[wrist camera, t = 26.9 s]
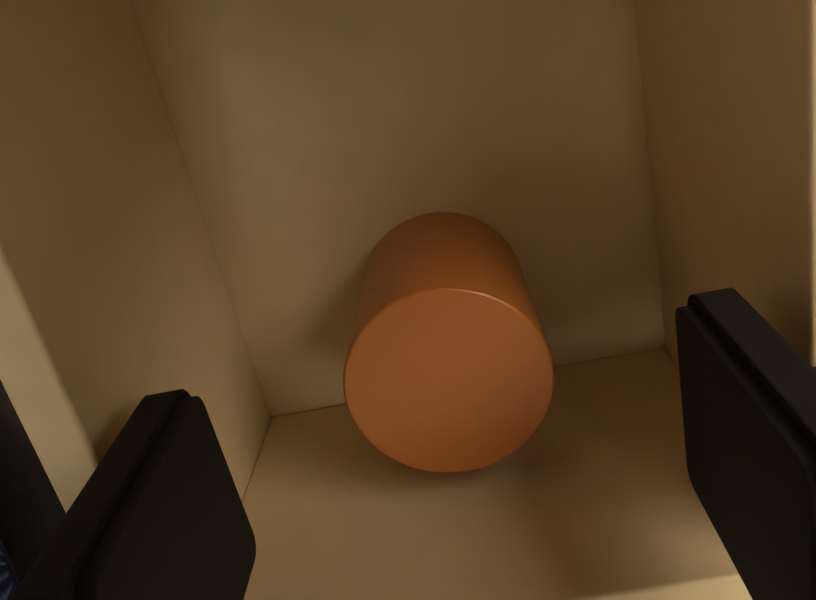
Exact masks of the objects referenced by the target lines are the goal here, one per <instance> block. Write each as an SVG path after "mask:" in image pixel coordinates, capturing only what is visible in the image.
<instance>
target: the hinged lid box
mask: <svg viewBox="0 0 816 600" xmlns="http://www.w3.org/2000/svg"><path fill="white" fill-rule="evenodd" d="M436 212H451V213H459V214H463V215H467V216H471V217H473V218H476V219H478V220H480V221H482V222H484V223H486V224H487V225H489V226H491V227H492V228H493V229H495V230H496V231H497V232H498V233H499V234H500V235H501V236H502V237H503V238H504V239H505V240H506V241H507V242H508V244H509V245H510V246H511V248H512V249H513V251H514V253H515V255H516V257H517V259H518V262H519V264H520V267H521V270H522V273H523V276H524V279H525V282H526V285H527V288H528V290H529V293H530V296H531V299H532V302H533V305H534V308H535V311H536V314H537V317H538V319H539V322H540V325H541V328H542V331H543V334H544V337H545V340H546V343H547V346H548V348H549V351H550V354H551V358H552V363H553V367H554V388H553V395H552V399H551V403H550V406H549V408H548V411H547V413H546V415H545V417H544V419H543V421H542V422H541V424H540V426H539V427H538V429H537V430H536V431H535V433H534V434H533V435H532V436H531V437H530V438H529V439H528V440H527V441H526V442H525V443H524V444H523V445H522V446H521V447H520V448H518V449H517V450H516V451H515V452H513V453H512V454H510V455H509V456H507V457H505V458H504V459H502V460H500V461H497V462H495V463H493V464H491V465H488V466H485V467H482V468H479V469H474V470H469V471H464V472H453V473H446V472H432V471H425V470H421V469H417V468H413V467H410V466H407V465H405V464H402V463H400V462H398V461H396V460H394V459H392V458H390V457H388V456H387V455H385V454H384V453H382V452H381V451H379V450H378V449H377V448H376V447H375V446H373V445H372V444H371V443H370V442H369V441H368V440H367V439H366V438H365V436H364V435H363V434H362V433H361V431H360V430H359V429H358V427H357V426H356V424H355V423H354V421H353V419H352V417H351V415H350V413H349V410H348V407H347V404H346V401H345V396H344V391H343V371H344V364H345V359H346V354H347V349H348V345H349V340H350V335H351V330H352V326H353V321H354V316H355V312H356V307H357V302H358V297H359V293H360V288H361V283H362V278H363V274H364V270H365V266H366V263H367V261H368V259H369V256H370V254H371V253H372V251H373V249H374V248H375V246H376V245H377V244H378V242H379V241H380V240H381V239H382V238H383V237H384V236H385V235H386V234H387V233H388V232H389V231H390V230H392V229H393V228H394V227H396V226H397V225H399V224H401V223H403V222H404V221H406V220H408V219H411V218H414V217H416V216H420V215H424V214H428V213H436ZM730 287H732V288H734V289H735V290H736V291H737V292H738V293H739V294H740V295H741V296H742V297H743V298H744V299H745V300H746V301H747V302H748V303H749V304H750V305H751V306H752V307H753V308H754V309H755V310H756V311H757V312H758V313H759V314H760V315H761V316H762V317H763V318H764V319H765V320H766V321H767V322H768V323H769V324H770V325H771V326H772V327H773V328H774V329H775V330H776V331H778V332H779V333H780V334H781V335H782V336H783V337H784V338H785V339H786V340H787V341H788V342H789V343H790V344H791V345H792V346H793V347H794V348H795V349H796V350H797V351H798V352H799V353H800V354H801V355H802V356H803V357H804V358H805V359H806V360H807V361H808V362H809V363H810V364H811V365H812V366H813V367H814V366H816V0H0V380H1V382H2V384H3V386H4V388H5V390H6V392H7V394H8V396H9V398H10V400H11V402H12V404H13V406H14V408H15V410H16V412H17V415H18V417H19V419H20V421H21V423H22V425H23V427H24V429H25V431H26V433H27V435H28V437H29V439H30V441H31V443H32V445H33V447H34V449H35V451H36V453H37V455H38V457H39V459H40V461H41V463H42V465H43V467H44V469H45V472H46V474H47V476H48V478H49V480H50V482H51V484H52V486H53V488H54V490H55V492H56V494H57V496H58V498H59V500H60V502H61V504H62V506H63V508H64V510H65V512H66V513H67V511H68V510H69V508H70V507H71V505H72V504H73V502H74V501H75V499H76V498H77V496H78V495H79V493H80V492H81V490H82V489H83V487H84V486H85V484H86V483H87V481H88V480H89V478H90V477H91V475H92V474H93V472H94V471H95V469H96V468H97V466H98V465H99V463H100V462H101V460H102V459H103V457H104V456H105V454H106V453H107V451H108V450H109V448H110V447H111V445H112V443H113V442H114V440H115V439H116V437H117V436H118V434H119V433H120V431H121V430H122V428H123V427H124V425H125V424H126V422H127V421H128V419H129V418H130V416H131V415H132V413H133V412H134V410H135V409H136V407H137V406H138V404H139V403H140V401H141V400H142V399H143V398H144V397H145V396H146V395H152V394H157V393H162V392H168V391H173V390H179V389H184V390H186V391H187V392H188V393H189V394H190V395H191V397H193V396H199V397H200V398H201V399H202V400H203V402H204V404H205V407H206V409H207V412H208V415H209V417H210V420H211V423H212V425H213V428H214V430H215V433H216V436H217V438H218V441H219V444H220V446H221V449H222V451H223V454H224V457H225V459H226V462H227V465H228V467H229V470H230V472H231V475H232V478H233V480H234V483H235V486H236V488H237V491H238V493H239V496H240V499H241V501H242V504H243V507H244V509H245V512H246V514H247V517H248V520H249V522H250V525H251V528H252V530H253V533H254V536H255V542H256V557H255V562H254V565H253V569H252V572H251V576H250V579H249V583H248V586H247V590H246V593H245V596H244V600H753V599H752V598H751V596H750V594H749V592H748V590H747V588H746V586H745V584H744V583H743V581H742V579H741V577H740V575H739V573H738V571H737V569H736V568H735V566H734V564H733V562H732V560H731V558H730V556H729V554H728V553H727V551H726V549H725V547H724V545H723V543H722V541H721V539H720V538H719V536H718V534H717V532H716V530H715V528H714V526H713V524H712V523H711V521H710V519H709V517H708V515H707V513H706V511H705V509H704V508H703V506H702V504H701V502H700V500H699V498H698V496H697V494H696V493H695V491H694V488H693V486H692V484H691V481H690V477H689V474H688V469H687V462H686V450H685V437H684V424H683V411H682V399H681V386H680V373H679V361H678V348H677V335H676V323H675V312H676V309H677V308H678V307H683V306H687V301H688V297H689V296H690V295H693V294H698V293H703V292H709V291H714V290H720V289H725V288H730Z"/></svg>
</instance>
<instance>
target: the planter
mask: <svg viewBox="0 0 816 600" xmlns="http://www.w3.org/2000/svg"><path fill="white" fill-rule="evenodd" d="M19 584H20V583H19V579H18V576H17V574H16V571H15V569H14V566H13V564H12V561H11V559H10V557H9V555H8V553H7V551H6V549H5V547H4V545H3V543H2V541H1V539H0V600H9V599H10V597H11V596H12V594H13V593H14V591H15V590H16V588H17V587H18V585H19Z"/></svg>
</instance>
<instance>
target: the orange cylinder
mask: <svg viewBox="0 0 816 600" xmlns="http://www.w3.org/2000/svg"><path fill="white" fill-rule="evenodd" d="M553 388H554V367H553V363H552V358H551V354H550V351H549V348H548V346H547V343H546V340H545V337H544V334H543V331H542V328H541V325H540V322H539V319H538V317H537V314H536V311H535V308H534V305H533V302H532V299H531V296H530V293H529V290H528V288H527V285H526V282H525V279H524V276H523V273H522V270H521V267H520V264H519V262H518V259H517V257H516V255H515V253H514V251H513V249H512V248H511V246H510V245H509V244H508V242H507V241H506V240H505V239H504V238H503V237H502V236H501V235H500V234H499V233H498V232H497V231H496V230H495V229H493V228H492V227H491V226H489V225H487V224H486V223H484V222H482V221H480V220H478V219H476V218H473V217H471V216H467V215H463V214H459V213H451V212H436V213H428V214H424V215H420V216H416V217H414V218H411V219H408V220H406V221H404V222H403V223H401V224H399V225H397V226H396V227H394V228H393V229H392V230H390V231H389V232H388V233H387V234H386V235H385V236H384V237H383V238H382V239H381V240H380V241H379V242H378V244H377V245H376V246H375V248H374V249H373V251H372V253H371V254H370V256H369V259H368V261H367V263H366V266H365V270H364V274H363V278H362V283H361V288H360V293H359V297H358V302H357V307H356V312H355V316H354V321H353V326H352V330H351V335H350V340H349V345H348V349H347V354H346V359H345V364H344V371H343V391H344V396H345V401H346V404H347V407H348V410H349V413H350V415H351V417H352V419H353V421H354V423H355V424H356V426H357V427H358V429H359V430H360V431H361V433H362V434H363V435H364V436H365V438H366V439H367V440H368V441H369V442H370V443H371V444H372V445H373V446H375V447H376V448H377V449H378V450H379V451H381V452H382V453H384V454H385V455H387V456H388V457H390V458H392V459H394V460H396V461H398V462H400V463H402V464H405V465H407V466H410V467H413V468H417V469H421V470H425V471H432V472H446V473H453V472H464V471H469V470H474V469H479V468H482V467H485V466H488V465H491V464H493V463H495V462H497V461H500V460H502V459H504V458H505V457H507V456H509V455H510V454H512V453H513V452H515V451H516V450H517V449H518V448H520V447H521V446H522V445H523V444H524V443H525V442H526V441H527V440H528V439H529V438H530V437H531V436H532V435H533V434H534V433H535V431H536V430H537V429H538V427H539V426H540V424H541V422H542V421H543V419H544V417H545V415H546V413H547V411H548V408H549V406H550V403H551V399H552V395H553Z"/></svg>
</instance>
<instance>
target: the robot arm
mask: <svg viewBox="0 0 816 600" xmlns="http://www.w3.org/2000/svg"><path fill="white" fill-rule="evenodd" d="M675 323H676V335H677V348H678V361H679V373H680V386H681V399H682V411H683V424H684V437H685V450H686V462H687V469H688V474H689V477H690V481H691V484H692V486H693V488H694V491H695V493H696V494H697V496H698V498H699V500H700V502H701V504H702V506H703V508H704V509H705V511H706V513H707V515H708V517H709V519H710V521H711V523H712V524H713V526H714V528H715V530H716V532H717V534H718V536H719V538H720V539H721V541H722V543H723V545H724V547H725V549H726V551H727V553H728V554H729V556H730V558H731V560H732V562H733V564H734V566H735V568H736V569H737V571H738V573H739V575H740V577H741V579H742V581H743V583H744V584H745V586H746V588H747V590H748V592H749V594H750V596H751V598H752V599H753V600H816V366H814V367H813V366H812V365H811V364H810V363H809V362H808V361H807V360H806V359H805V358H804V357H803V356H802V355H801V354H800V353H799V352H798V351H797V350H796V349H795V348H794V347H793V346H792V345H791V344H790V343H789V342H788V341H787V340H786V339H785V338H784V337H783V336H782V335H781V334H780V333H779V332H778V331H776V330H775V329H774V328H773V327H772V326H771V325H770V324H769V323H768V322H767V321H766V320H765V319H764V318H763V317H762V316H761V315H760V314H759V313H758V312H757V311H756V310H755V309H754V308H753V307H752V306H751V305H750V304H749V303H748V302H747V301H746V300H745V299H744V298H743V297H742V296H741V295H740V294H739V293H738V292H737V291H736V290H735V289H734V288H732V287H730V288H725V289H720V290H714V291H709V292H703V293H698V294H693V295H690V296H689V297H688V301H687V306H683V307H678V308H677V309H676V312H675ZM255 557H256V542H255V536H254V533H253V530H252V528H251V525H250V522H249V520H248V517H247V514H246V512H245V509H244V507H243V504H242V501H241V499H240V496H239V493H238V491H237V488H236V486H235V483H234V480H233V478H232V475H231V472H230V470H229V467H228V465H227V462H226V459H225V457H224V454H223V451H222V449H221V446H220V444H219V441H218V438H217V436H216V433H215V430H214V428H213V425H212V423H211V420H210V417H209V415H208V412H207V409H206V407H205V404H204V402H203V400H202V399H201V398H200V397H199V396H193V397H191V395H190V394H189V393H188V392H187V391H186V390H184V389H179V390H173V391H168V392H162V393H157V394H152V395H146V396H145V397H144V398H143V399H142V400H141V401H140V403H139V404H138V406H137V407H136V409H135V410H134V412H133V413H132V415H131V416H130V418H129V419H128V421H127V422H126V424H125V425H124V427H123V428H122V430H121V431H120V433H119V434H118V436H117V437H116V439H115V440H114V442H113V443H112V445H111V447H110V448H109V450H108V451H107V453H106V454H105V456H104V457H103V459H102V460H101V462H100V463H99V465H98V466H97V468H96V469H95V471H94V472H93V474H92V475H91V477H90V478H89V480H88V481H87V483H86V484H85V486H84V487H83V489H82V490H81V492H80V493H79V495H78V496H77V498H76V499H75V501H74V502H73V504H72V505H71V507H70V508H69V510H68V511H67V513H66V514H65V516H64V517H63V519H62V520H61V522H60V523H59V525H58V526H57V528H56V529H55V531H54V532H53V534H52V535H51V537H50V538H49V540H48V541H47V543H46V544H45V546H44V547H43V549H42V550H41V552H40V553H39V555H38V556H37V558H36V560H35V561H34V563H33V564H32V566H31V567H30V569H29V570H28V572H27V573H26V575H25V576H24V578H23V579H22V581H21V582H20V584H19V585H18V587H17V588H16V590H15V591H14V593H13V594H12V596H11V597H10V599H9V600H244V596H245V593H246V590H247V586H248V583H249V579H250V576H251V572H252V569H253V565H254V562H255Z"/></svg>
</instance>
